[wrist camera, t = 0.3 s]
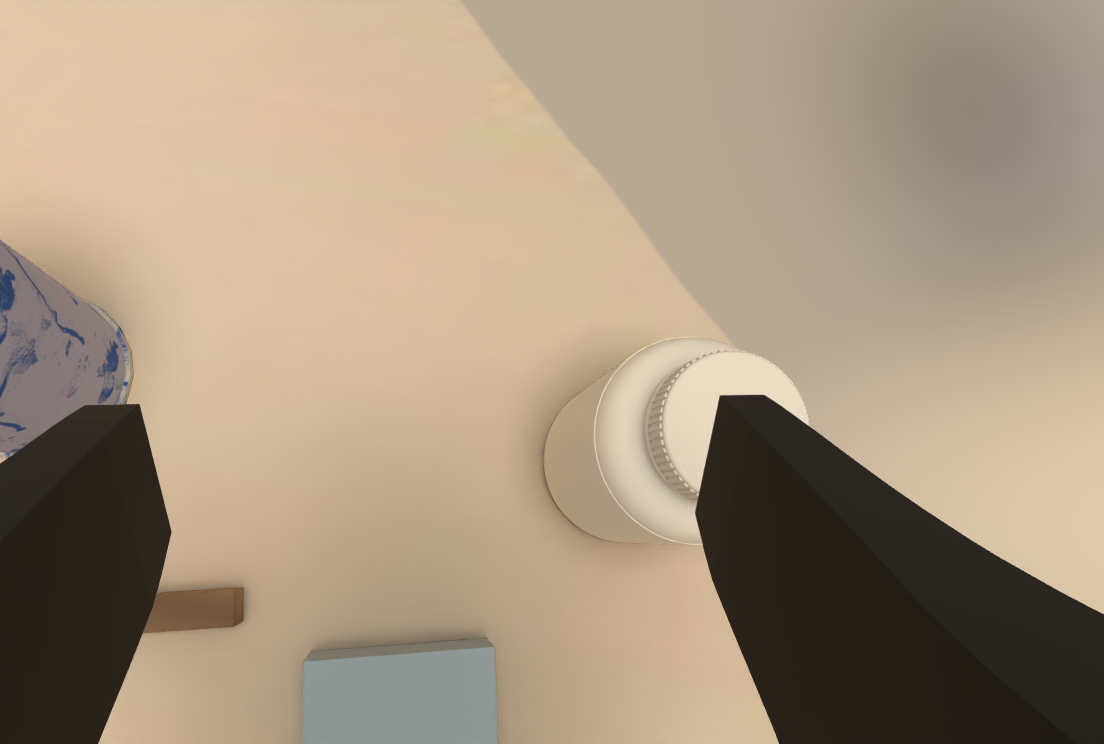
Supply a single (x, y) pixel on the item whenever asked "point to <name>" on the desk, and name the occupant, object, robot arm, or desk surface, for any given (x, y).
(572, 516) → the pill bottle
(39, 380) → the aerosol can
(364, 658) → the carton
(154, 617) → the stand
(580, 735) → the desk surface
